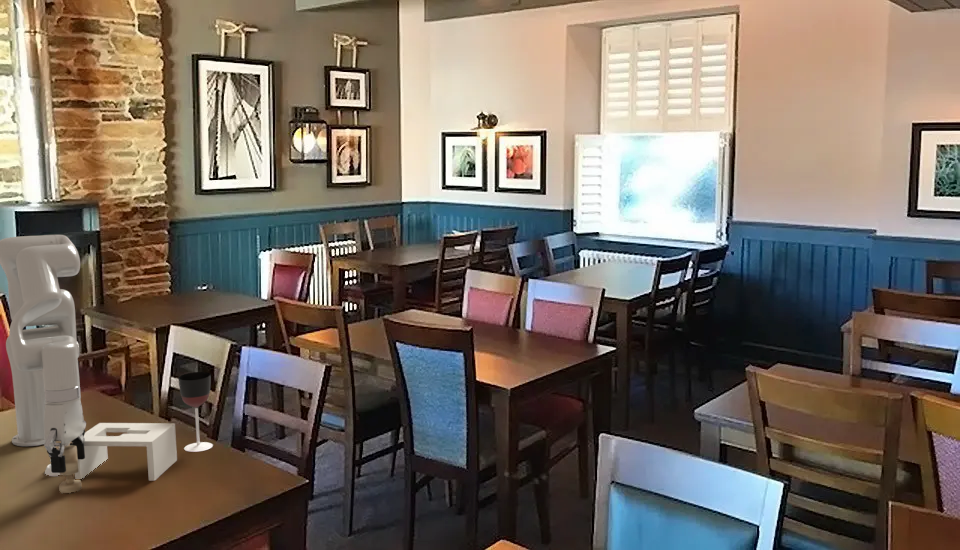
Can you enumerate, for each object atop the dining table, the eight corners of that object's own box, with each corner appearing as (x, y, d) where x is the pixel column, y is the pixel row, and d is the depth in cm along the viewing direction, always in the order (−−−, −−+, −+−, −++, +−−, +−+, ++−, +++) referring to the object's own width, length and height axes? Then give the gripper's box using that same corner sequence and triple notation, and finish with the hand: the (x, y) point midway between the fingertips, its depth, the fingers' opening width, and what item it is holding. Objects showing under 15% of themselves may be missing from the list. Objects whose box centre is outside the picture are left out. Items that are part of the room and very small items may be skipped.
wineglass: (220, 443, 234) (216, 373, 231) (200, 453, 226) (196, 381, 223) (196, 440, 237) (192, 371, 234) (176, 450, 229) (171, 379, 226)
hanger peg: (66, 485, 205) (62, 444, 204) (85, 485, 205) (82, 444, 203) (55, 493, 200) (52, 451, 199) (75, 493, 200) (72, 451, 199)
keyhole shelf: (75, 479, 209) (72, 441, 207) (102, 459, 222) (99, 422, 221) (154, 480, 208) (152, 441, 206) (177, 460, 222) (174, 423, 220)
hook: (86, 456, 210) (59, 443, 208) (63, 491, 213) (37, 478, 211) (96, 440, 217) (70, 427, 215) (74, 474, 220) (48, 462, 218)
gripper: (66, 384, 208) (72, 453, 210) (26, 405, 190) (32, 479, 193) (96, 384, 207) (101, 453, 210) (58, 404, 190) (64, 479, 192)
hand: (68, 465), depth 201 cm, fingers open, 8 cm apart
